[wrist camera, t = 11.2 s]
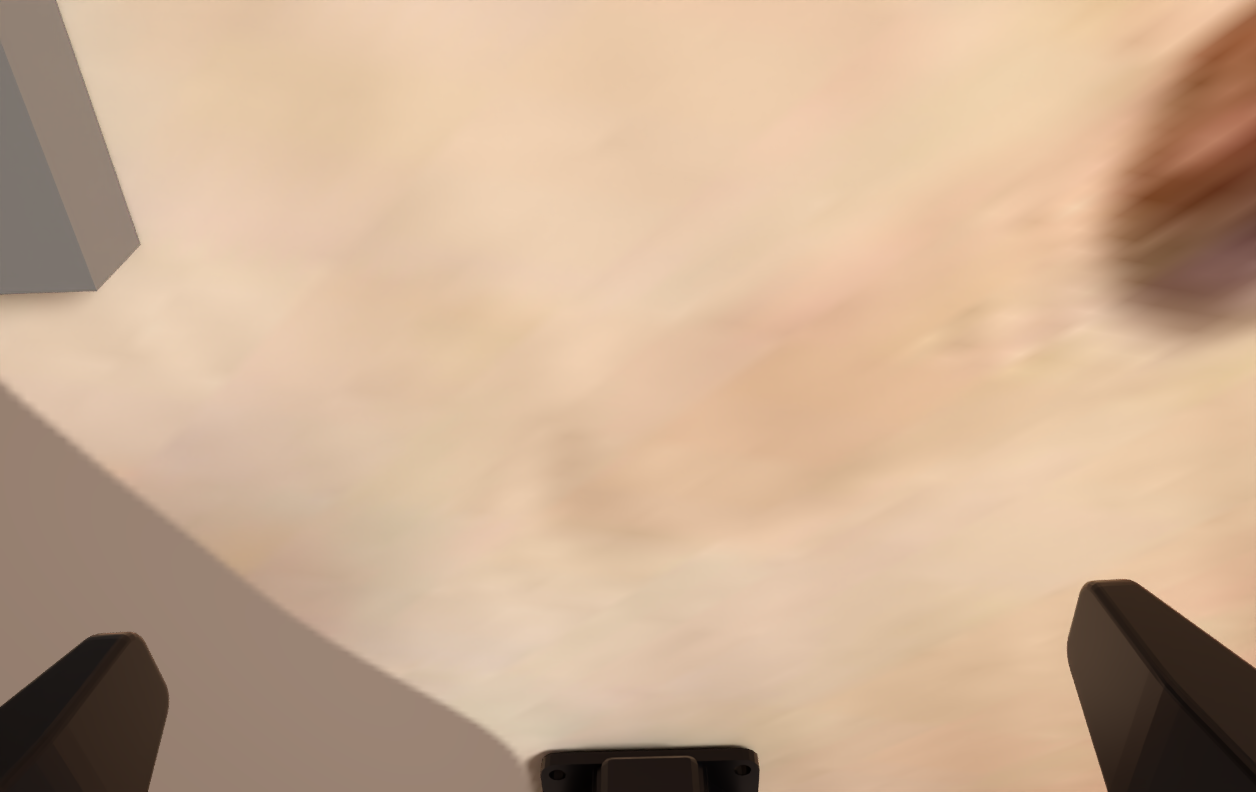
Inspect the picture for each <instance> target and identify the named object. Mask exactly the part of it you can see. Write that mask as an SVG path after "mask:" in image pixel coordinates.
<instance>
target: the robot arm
mask: <svg viewBox="0 0 1256 792" xmlns="http://www.w3.org/2000/svg"><path fill="white" fill-rule="evenodd" d="M1067 657H1068V663H1069V667H1070V671H1071V674H1072V677H1073V680H1074V684H1075V687H1076V690H1077V693H1078V697H1079V700H1080V703H1081V706H1082V710H1083V713H1084V716H1085V719H1086V723H1087V726H1088V729H1089V732H1090V736H1091V739H1092V742H1093V745H1094V749H1095V752H1096V755H1097V758H1098V762H1099V765H1100V768H1101V771H1102V775H1103V778H1104V781H1105V784H1106V788H1107V791H1108V792H1256V668H1255V667H1253V666H1252V665H1250V664H1249V663H1248V662H1246V661H1245V660H1243V659H1242V658H1241V657H1239V656H1238V655H1237V654H1235V653H1234V652H1232V651H1231V650H1230V649H1228V648H1227V647H1225V646H1224V645H1223V644H1221V643H1220V642H1219V641H1217V640H1216V639H1214V638H1213V637H1212V636H1210V635H1209V634H1207V633H1206V632H1205V631H1203V630H1202V629H1201V628H1199V627H1198V626H1196V625H1195V624H1194V623H1192V622H1191V621H1189V620H1188V619H1187V618H1185V617H1184V616H1183V615H1181V614H1180V613H1178V612H1177V611H1176V610H1174V609H1173V608H1171V607H1170V606H1169V605H1167V604H1166V603H1164V602H1163V601H1162V600H1160V599H1159V598H1158V597H1156V596H1155V595H1153V594H1152V593H1151V592H1149V591H1148V590H1146V589H1145V588H1144V587H1142V586H1141V585H1139V584H1138V583H1136V582H1134V581H1131V580H1127V579H1116V580H1097V581H1090V582H1087V583H1086V584H1085V585H1084V586H1083V587H1082V589H1081V591H1080V594H1079V598H1078V601H1077V605H1076V609H1075V613H1074V617H1073V621H1072V624H1071V628H1070V632H1069V636H1068V641H1067ZM168 708H169V694H168V689H167V686H166V684H165V681H164V679H163V677H162V675H161V673H160V672H159V669H158V667H157V665H156V663H155V661H154V659H153V657H152V655H151V653H150V651H149V649H148V647H147V645H146V643H145V641H144V640H143V638H142V637H141V636H139V635H138V634H136V633H133V632H119V633H101V634H96V635H92V636H90V637H89V638H87V639H86V640H84V641H83V642H82V643H80V644H79V645H78V646H76V647H75V648H74V649H73V650H71V651H70V652H69V653H68V654H66V655H65V656H64V657H63V658H61V659H60V660H59V661H57V662H56V663H55V664H54V665H53V666H51V667H50V668H49V669H47V670H46V671H45V672H44V673H42V674H41V675H40V676H39V677H37V678H36V679H35V680H34V681H32V682H31V683H30V684H28V685H27V686H26V687H25V688H23V689H22V690H21V691H20V692H18V693H17V694H16V695H15V696H13V697H12V698H11V699H10V700H8V701H7V702H6V703H5V704H3V705H2V706H1V707H0V792H148V789H149V785H150V781H151V777H152V773H153V769H154V765H155V761H156V757H157V753H158V749H159V745H160V742H161V738H162V734H163V730H164V726H165V722H166V718H167V714H168ZM541 781H542V788H543V792H758V786H759V762H758V756H757V754H756V753H755V752H754V751H752V750H750V749H745V748H730V749H692V750H653V751H615V752H576V753H554V754H549V755H547V756H545V757H544V759H543V760H542V765H541Z"/></svg>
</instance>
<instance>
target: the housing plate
mask: <svg viewBox="0 0 1256 792" xmlns="http://www.w3.org/2000/svg"><path fill="white" fill-rule="evenodd" d="M139 246H140V242H139V239H138V236H137V233H136V230H135V227H134V224H133V221H132V219H131V216H130V213H129V210H128V207H127V204H126V201H125V198H124V195H123V193H122V190H121V187H120V184H119V181H118V178H117V175H116V172H115V169H114V167H113V164H112V161H111V158H110V155H109V152H108V149H107V146H106V143H105V141H104V138H103V135H102V132H101V129H100V126H99V123H98V120H97V117H96V115H95V112H94V109H93V106H92V103H91V100H90V97H89V94H88V91H87V89H86V86H85V83H84V80H83V77H82V74H81V71H80V68H79V65H78V63H77V60H76V57H75V54H74V51H73V48H72V45H71V42H70V39H69V37H68V34H67V31H66V28H65V25H64V22H63V19H62V16H61V13H60V11H59V8H58V5H57V2H56V0H0V294H21V293H51V292H80V291H97V290H98V289H99V288H100V287H101V286H102V285H103V284H104V283H105V282H106V281H107V280H108V279H109V278H110V276H111V275H112V274H113V273H114V272H115V271H116V270H117V269H118V268H119V267H120V266H121V265H122V264H123V263H124V262H125V261H126V260H127V258H128V257H129V256H130V255H131V254H132V253H133V252H134V251H135V250H136V249H137V248H138V247H139Z"/></svg>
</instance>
